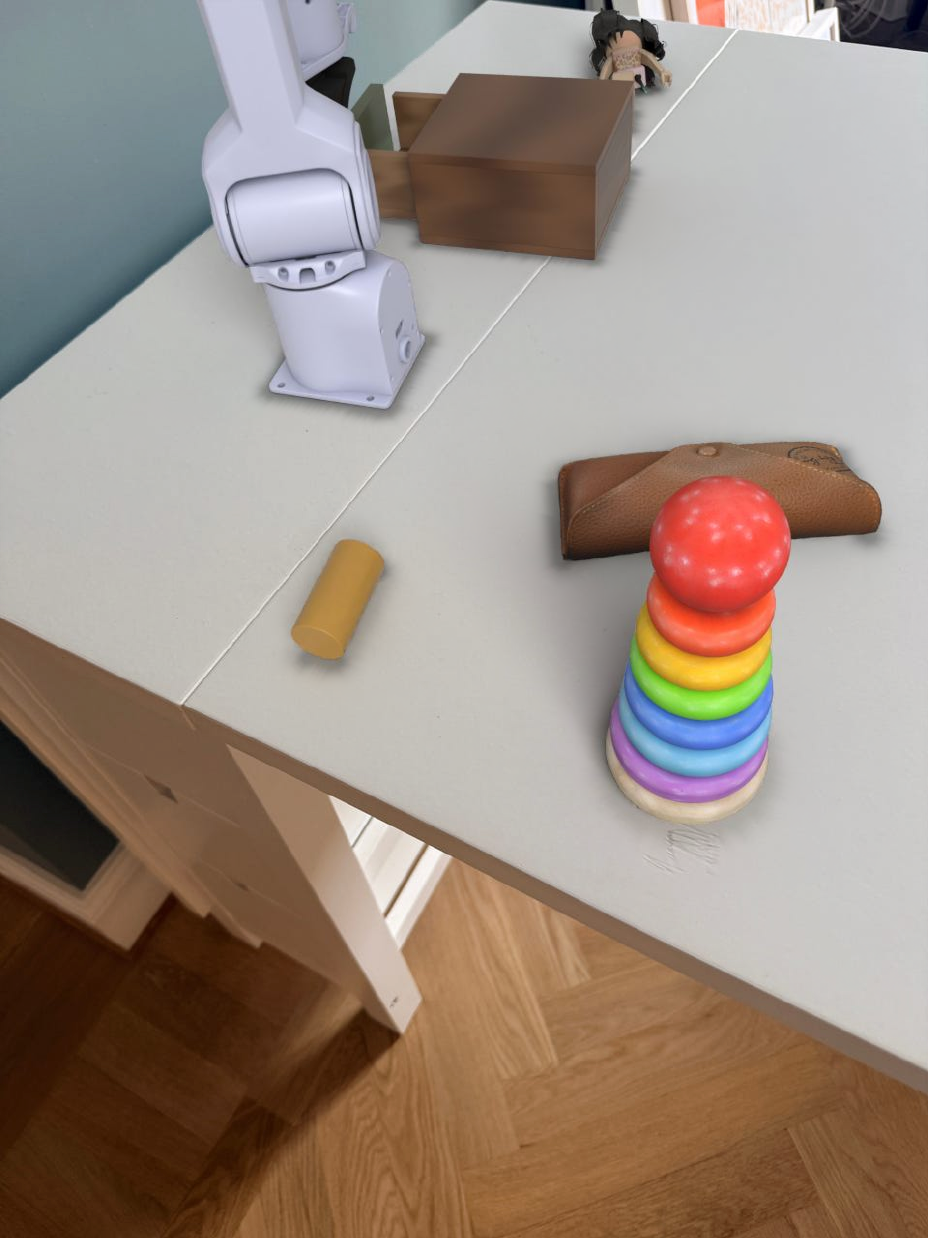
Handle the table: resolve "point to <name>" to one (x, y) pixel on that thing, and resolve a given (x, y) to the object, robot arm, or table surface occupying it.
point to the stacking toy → (702, 655)
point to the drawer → (378, 142)
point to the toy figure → (627, 50)
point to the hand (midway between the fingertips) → (333, 158)
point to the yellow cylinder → (338, 599)
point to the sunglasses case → (642, 482)
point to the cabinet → (523, 163)
